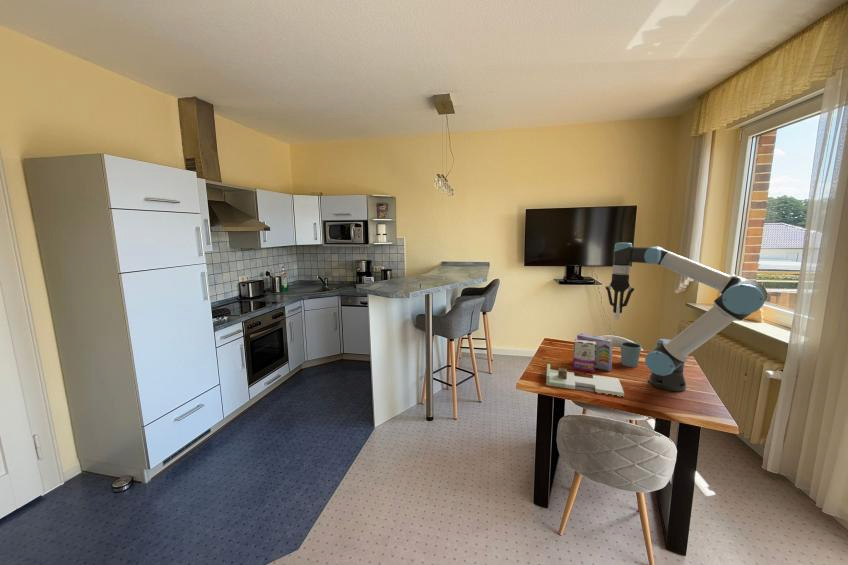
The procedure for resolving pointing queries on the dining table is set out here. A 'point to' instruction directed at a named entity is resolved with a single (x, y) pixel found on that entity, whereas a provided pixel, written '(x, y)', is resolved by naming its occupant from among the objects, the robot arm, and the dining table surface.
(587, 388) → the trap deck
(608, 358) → the cake pan box
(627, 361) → the drinking glass
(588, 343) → the candy bar box
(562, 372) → the walnut block
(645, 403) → the dining table surface
